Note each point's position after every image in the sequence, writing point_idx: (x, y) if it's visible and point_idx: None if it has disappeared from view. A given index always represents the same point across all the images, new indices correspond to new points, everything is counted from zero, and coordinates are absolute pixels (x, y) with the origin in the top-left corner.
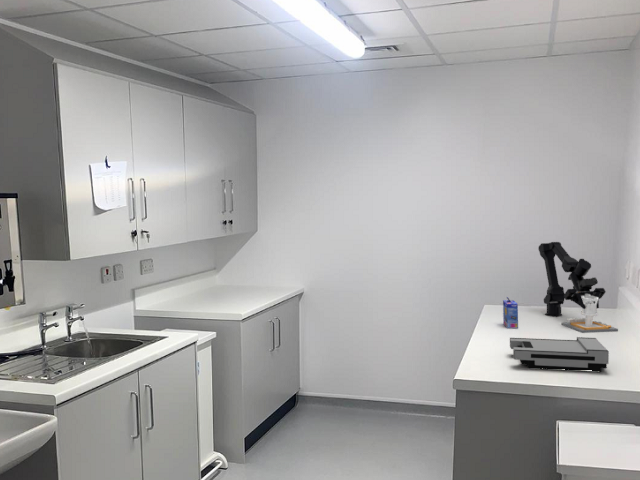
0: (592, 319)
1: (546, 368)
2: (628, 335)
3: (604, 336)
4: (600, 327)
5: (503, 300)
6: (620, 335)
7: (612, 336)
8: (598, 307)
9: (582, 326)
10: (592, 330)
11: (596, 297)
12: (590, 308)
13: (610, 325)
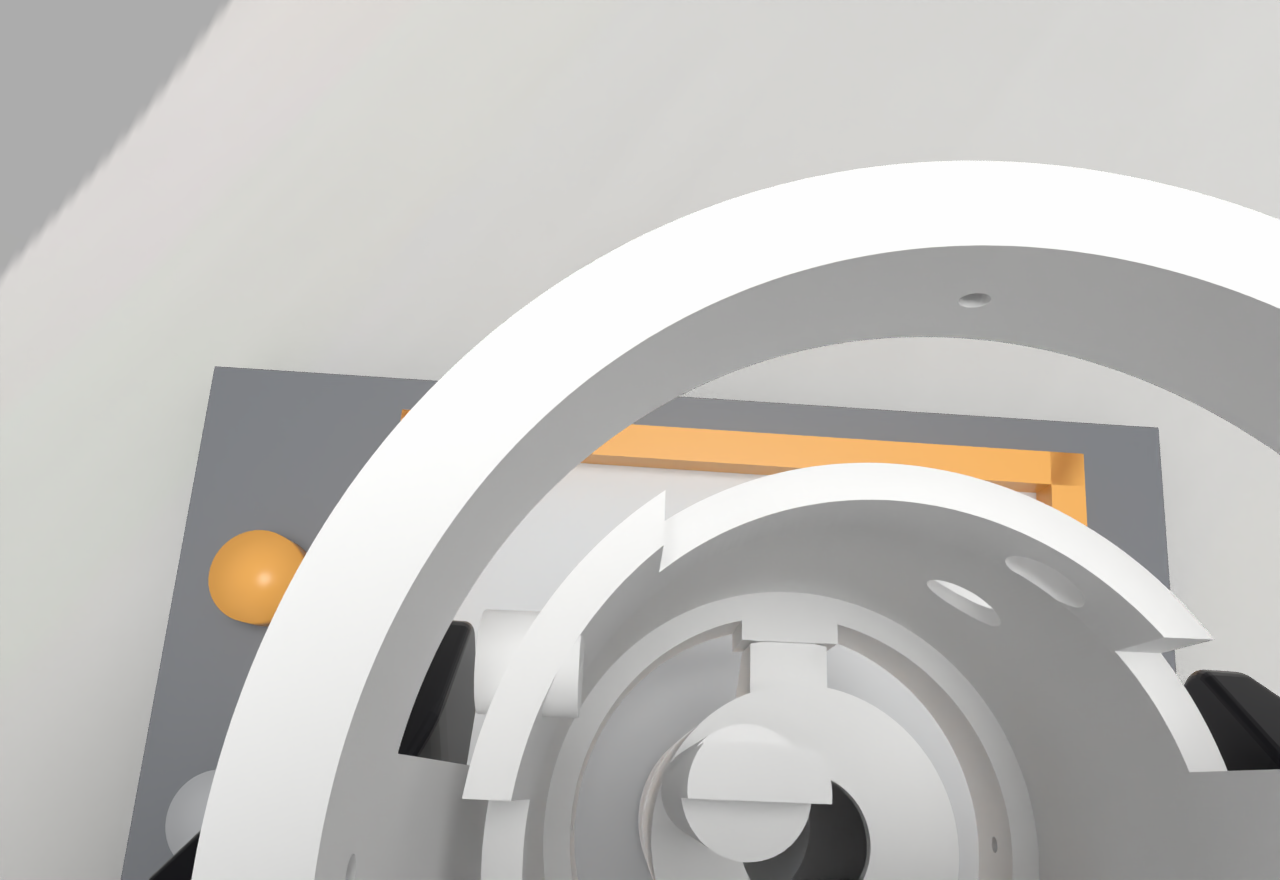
0: (671, 748)
1: None
2: (330, 19)
3: (849, 57)
4: (643, 428)
5: None
6: (483, 53)
7: (695, 23)
8: (452, 622)
9: None
10: (882, 411)
11: (331, 809)
12: (964, 560)
13: (216, 584)
